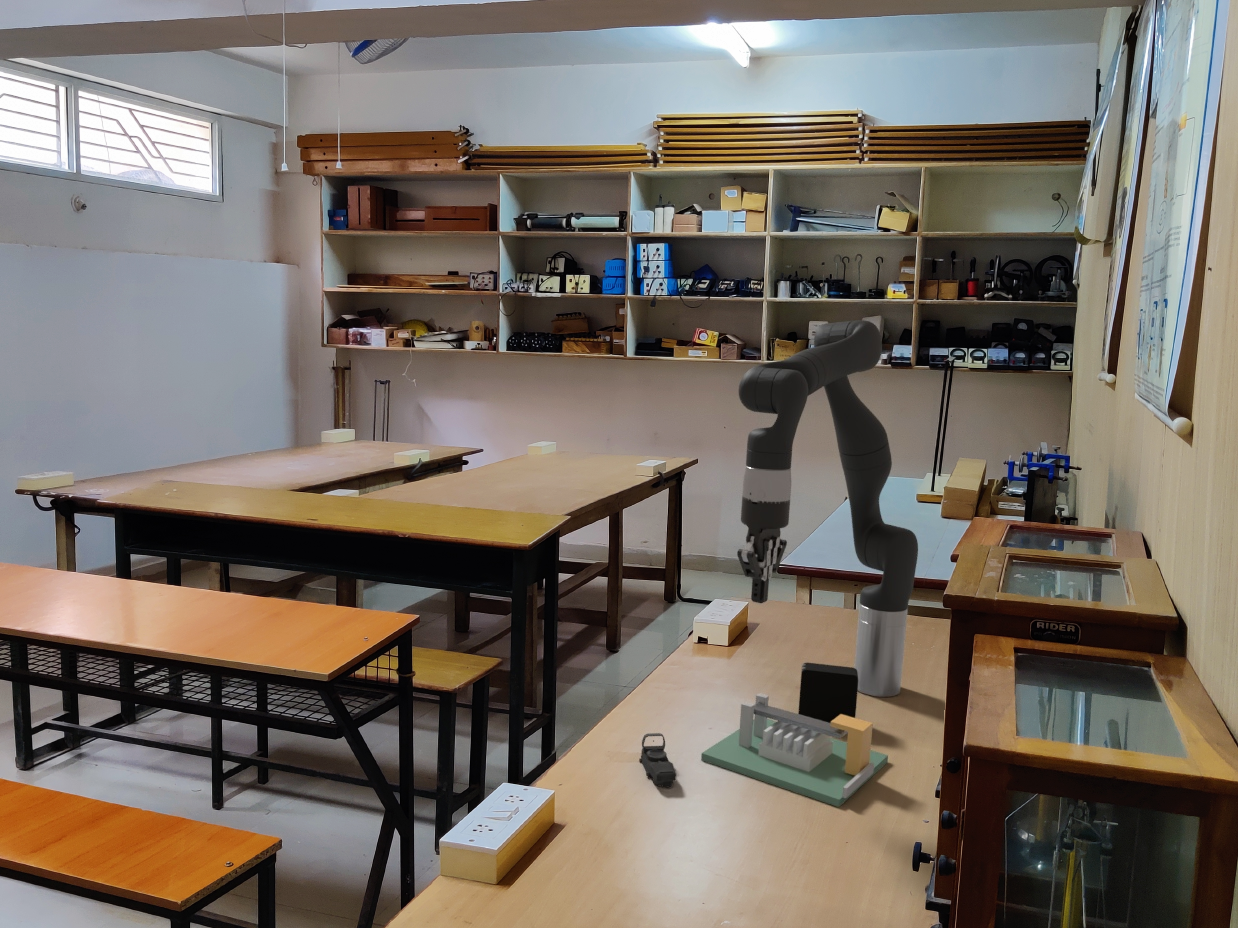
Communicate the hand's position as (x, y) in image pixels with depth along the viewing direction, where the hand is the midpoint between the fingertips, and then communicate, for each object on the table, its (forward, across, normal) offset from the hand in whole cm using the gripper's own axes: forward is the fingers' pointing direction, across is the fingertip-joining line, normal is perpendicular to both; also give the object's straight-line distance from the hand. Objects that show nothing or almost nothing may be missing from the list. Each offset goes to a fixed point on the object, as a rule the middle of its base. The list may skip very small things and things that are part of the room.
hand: (759, 601), depth 158 cm
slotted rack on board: (+27, -5, +6) cm, 28 cm away
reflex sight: (+27, +14, -9) cm, 32 cm away
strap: (+20, -5, +6) cm, 22 cm away
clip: (+26, -6, +15) cm, 30 cm away
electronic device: (+27, -24, +3) cm, 36 cm away
